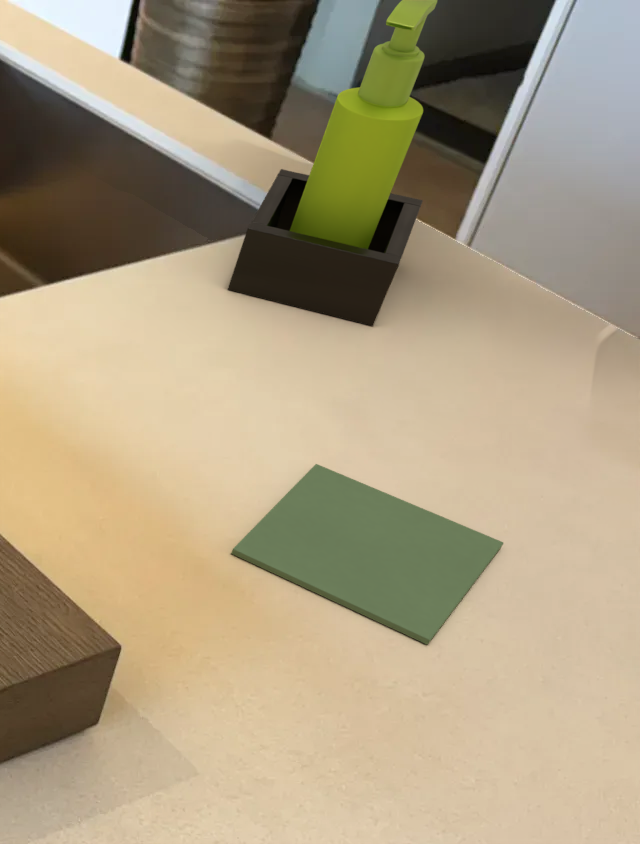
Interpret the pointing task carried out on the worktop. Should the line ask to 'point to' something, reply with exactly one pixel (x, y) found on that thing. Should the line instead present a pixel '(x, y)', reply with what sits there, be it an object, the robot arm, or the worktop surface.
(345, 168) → the soap dispenser
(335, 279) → the box
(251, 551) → the mat
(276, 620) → the worktop surface
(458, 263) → the worktop surface
